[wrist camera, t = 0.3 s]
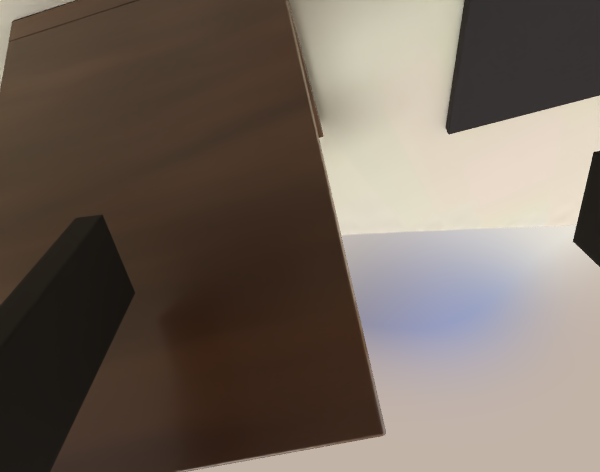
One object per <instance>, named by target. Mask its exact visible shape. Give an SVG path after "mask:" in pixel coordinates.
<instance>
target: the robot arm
mask: <svg viewBox="0 0 600 472" xmlns="http://www.w3.org/2000/svg"><path fill="white" fill-rule="evenodd" d="M573 242H574V243H576V245H577V246H579V247H580V248H581V249H582V250H583V251H584V252H585V253H586V254H587V255H588V256H589V257H590V258H591V259H592V260H593V261H594V262H595V263H596V264H597V265H599V267H600V151H597V152H594V153H593V157H592V162H591V166H590V170H589V175H588V179H587V183H586V187H585V192H584V196H583V200H582V205H581V209H580V213H579V218H578V222H577V226H576V231H575V235H574V239H573ZM134 294H135V291H134V289H133V286H132V284H131V281H130V279H129V277H128V274H127V272H126V269H125V267H124V265H123V262H122V260H121V257H120V255H119V253H118V250H117V248H116V245H115V243H114V241H113V238H112V236H111V233H110V231H109V229H108V226H107V224H106V221H105V219H104V217H103V214H102V215H94V216H86V217H78V218H75V219H74V220H73V221H72V223H71V224H70V225H69V226H68V227H67V228H66V230H65V231H64V232H63V233H62V234H61V235H60V237H59V238H58V239H57V240H56V241H55V242H54V244H53V245H52V246H51V247H50V248H49V249H48V250H47V252H46V253H45V254H44V255H43V256H42V257H41V259H40V260H39V261H38V262H37V263H36V264H35V266H34V267H33V268H32V269H31V270H30V271H29V273H28V274H27V275H26V276H25V277H24V278H23V280H22V281H21V282H20V283H19V284H18V285H17V287H16V288H15V289H14V290H13V291H12V292H11V294H10V295H9V296H8V297H7V298H6V299H5V301H4V302H3V303H2V304H1V305H0V472H50V471H51V469H52V467H53V465H54V463H55V461H56V458H57V456H58V454H59V452H60V450H61V448H62V446H63V444H64V442H65V440H66V437H67V435H68V433H69V431H70V429H71V427H72V425H73V423H74V421H75V419H76V416H77V414H78V412H79V410H80V408H81V406H82V404H83V402H84V400H85V397H86V395H87V393H88V391H89V389H90V387H91V385H92V383H93V381H94V379H95V376H96V374H97V372H98V370H99V368H100V366H101V364H102V362H103V360H104V358H105V355H106V353H107V351H108V349H109V347H110V345H111V343H112V341H113V339H114V336H115V334H116V332H117V330H118V328H119V326H120V324H121V322H122V320H123V318H124V315H125V313H126V311H127V309H128V307H129V305H130V303H131V301H132V299H133V296H134Z"/></svg>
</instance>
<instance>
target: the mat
mask: <svg viewBox="0 0 600 472" xmlns="http://www.w3.org/2000/svg"><path fill="white" fill-rule="evenodd" d="M599 95H600V0H465V3H464V9H463V16H462V23H461V29H460V36H459V43H458V49H457V56H456V63H455V69H454V76H453V83H452V89H451V96H450V103H449V109H448V116H447V123H446V130H447V132H448V134H452V133H456V132H460V131H464V130H468V129H472V128H475V127H479V126H483V125H487V124H491V123H495V122H499V121H503V120H506V119H510V118H514V117H518V116H522V115H526V114H530V113H533V112H537V111H541V110H545V109H549V108H553V107H557V106H560V105H564V104H568V103H572V102H576V101H580V100H584V99H587V98H591V97H595V96H599Z"/></svg>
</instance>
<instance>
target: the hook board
mask: <svg viewBox="0 0 600 472" xmlns="http://www.w3.org/2000/svg"><path fill="white" fill-rule="evenodd" d="M320 137H323V132H322V128H321V124H320V120H319V116H318V112H317V108H316V104H315V101H314V97H313V93H312V89H311V85H310V81H309V78H308V74H307V70H306V66H305V62H304V58H303V55H302V51H301V47H300V43H299V39H298V35H297V32H296V28H295V24H294V20H293V16H292V12H291V9H290V5H289V1H288V0H77V1H74V2H71V3H68V4H65V5H62V6H59V7H56V8H53V9H50V10H47V11H44V12H41V13H38V14H35V15H32V16H29V17H26V18H23V19H20V20H16V21H13V22H12V26H11V31H10V37H9V44H8V49H7V55H6V60H5V66H4V71H3V77H2V82H1V88H0V305H1V304H2V303H3V302H4V301H5V299H6V298H7V297H8V296H9V295H10V294H11V292H12V291H13V290H14V289H15V288H16V287H17V285H18V284H19V283H20V282H21V281H22V280H23V278H24V277H25V276H26V275H27V274H28V273H29V271H30V270H31V269H32V268H33V267H34V266H35V264H36V263H37V262H38V261H39V260H40V259H41V257H42V256H43V255H44V254H45V253H46V252H47V250H48V249H49V248H50V247H51V246H52V245H53V244H54V242H55V241H56V240H57V239H58V238H59V237H60V235H61V234H62V233H63V232H64V231H65V230H66V228H67V227H68V226H69V225H70V224H71V223H72V221H73V220H74V219H75V218H78V217H86V216H94V215H102V214H103V217H104V219H105V221H106V224H107V226H108V229H109V231H110V233H111V236H112V238H113V241H114V243H115V245H116V248H117V250H118V253H119V255H120V257H121V260H122V262H123V265H124V267H125V269H126V272H127V274H128V277H129V279H130V281H131V284H132V286H133V289H134V291H135V294H134V296H133V299H132V301H131V303H130V305H129V307H128V309H127V311H126V313H125V315H124V318H123V320H122V322H121V324H120V326H119V328H118V330H117V332H116V334H115V336H114V339H113V341H112V343H111V345H110V347H109V349H108V351H107V353H106V355H105V358H104V360H103V362H102V364H101V366H100V368H99V370H98V372H97V374H96V376H95V379H94V381H93V383H92V385H91V387H90V389H89V391H88V393H87V395H86V397H85V400H84V402H83V404H82V406H81V408H80V410H79V412H78V414H77V416H76V419H75V421H74V423H73V425H72V427H71V429H70V431H69V433H68V435H67V437H66V440H65V442H64V444H63V446H62V448H61V450H60V452H59V454H58V456H57V458H56V461H55V463H54V465H53V467H52V469H51V471H50V472H186V471H192V470H198V469H203V468H209V467H214V466H219V465H225V464H231V463H236V462H241V461H247V460H253V459H258V458H264V457H269V456H275V455H280V454H286V453H291V452H296V451H302V450H307V449H313V448H319V447H324V446H330V445H334V444H341V443H346V442H352V441H357V440H363V439H368V438H373V437H379V436H383V435H385V434H386V430H385V426H384V422H383V417H382V413H381V409H380V404H379V400H378V395H377V391H376V386H375V382H374V378H373V373H372V369H371V364H370V360H369V356H368V351H367V347H366V343H365V338H364V334H363V329H362V325H361V321H360V316H359V312H358V307H357V303H356V299H355V294H354V290H353V286H352V281H351V277H350V272H349V268H348V263H347V260H346V255H345V250H344V247H343V242H342V237H341V233H340V228H339V224H338V220H337V215H336V211H335V206H334V202H333V198H332V193H331V189H330V185H329V180H328V176H327V171H326V167H325V163H324V158H323V154H322V149H321V145H320V141H319V138H320Z"/></svg>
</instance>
